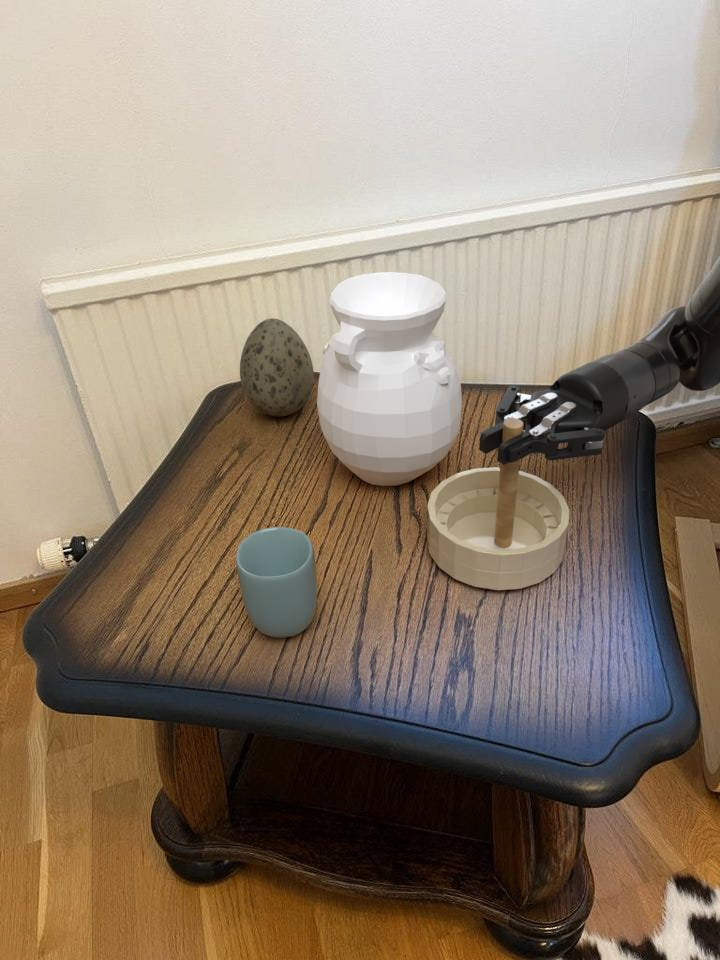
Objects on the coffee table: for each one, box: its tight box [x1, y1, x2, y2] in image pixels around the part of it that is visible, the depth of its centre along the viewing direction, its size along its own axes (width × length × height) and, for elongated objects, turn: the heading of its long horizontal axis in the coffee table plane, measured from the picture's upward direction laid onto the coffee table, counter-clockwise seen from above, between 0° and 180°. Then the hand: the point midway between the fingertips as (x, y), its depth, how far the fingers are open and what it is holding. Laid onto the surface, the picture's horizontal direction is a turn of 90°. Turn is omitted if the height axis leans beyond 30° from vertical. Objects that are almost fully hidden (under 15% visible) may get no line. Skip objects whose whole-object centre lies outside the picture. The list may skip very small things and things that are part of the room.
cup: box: [235, 526, 318, 639], centre depth 78 cm, size 8×8×10 cm
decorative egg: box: [239, 317, 315, 418], centre depth 111 cm, size 11×11×15 cm
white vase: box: [316, 271, 463, 487], centre depth 95 cm, size 19×18×25 cm
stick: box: [494, 418, 524, 548], centre depth 81 cm, size 2×2×16 cm
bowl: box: [426, 466, 571, 591], centre depth 87 cm, size 16×16×6 cm
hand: (491, 450), depth 76 cm, fingers closed on stick, 2 cm apart
